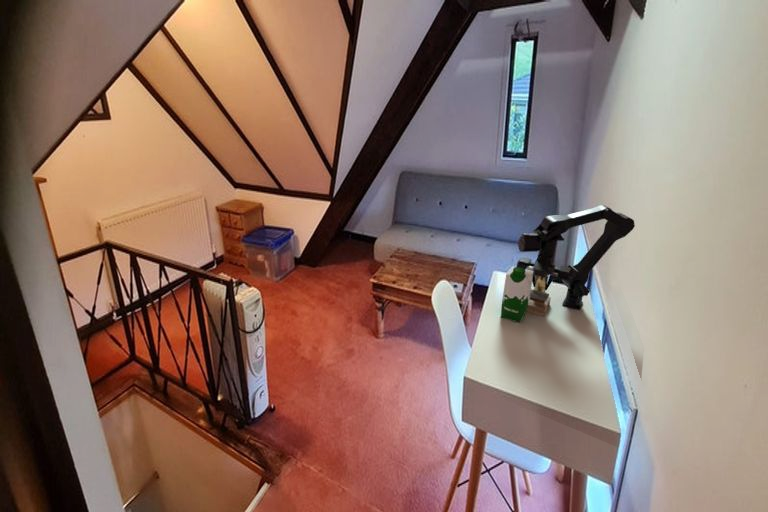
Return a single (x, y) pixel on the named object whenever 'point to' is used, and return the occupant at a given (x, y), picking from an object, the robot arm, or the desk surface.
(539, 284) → the peg
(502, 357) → the desk surface
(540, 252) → the robot arm
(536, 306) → the socket block
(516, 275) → the milk carton
